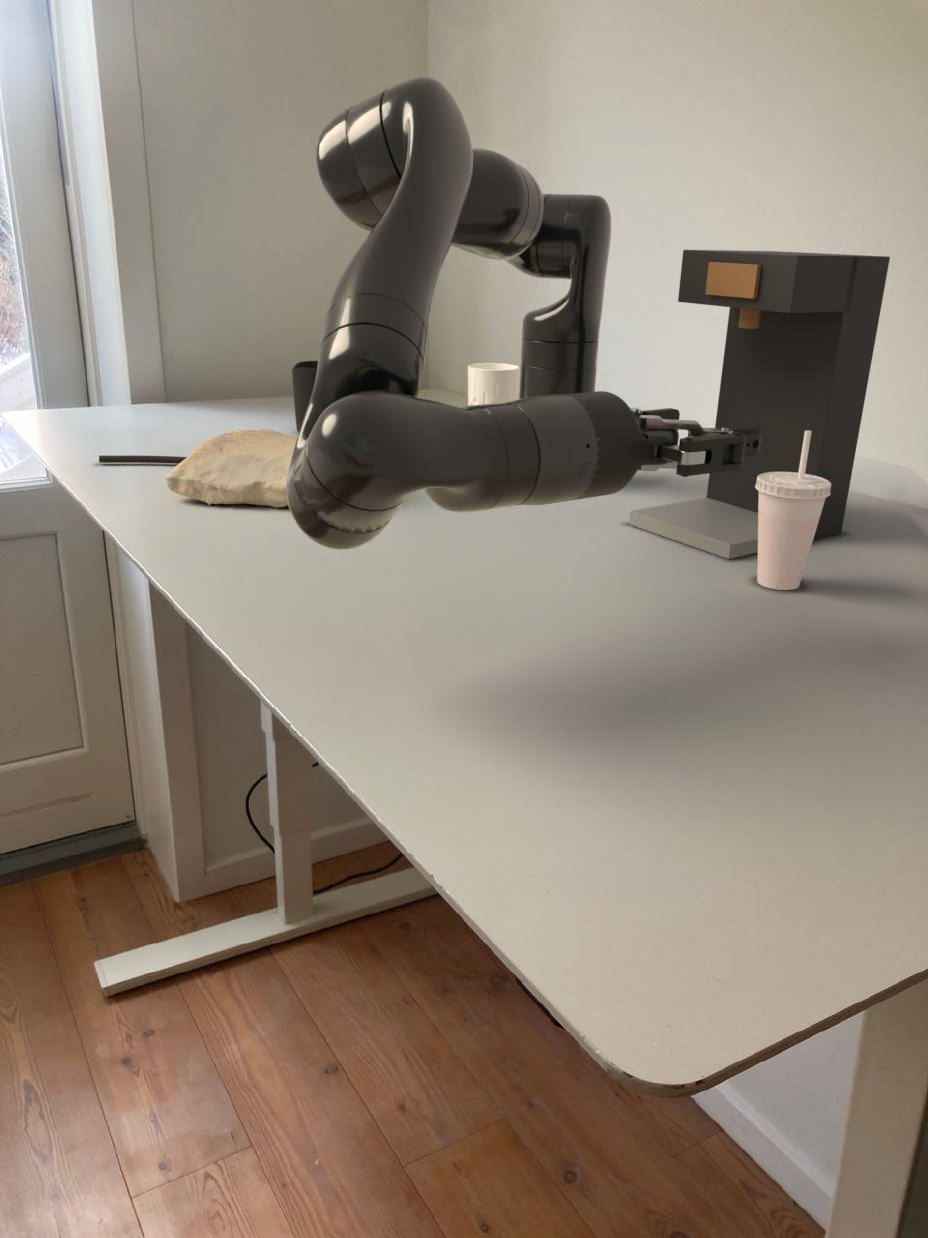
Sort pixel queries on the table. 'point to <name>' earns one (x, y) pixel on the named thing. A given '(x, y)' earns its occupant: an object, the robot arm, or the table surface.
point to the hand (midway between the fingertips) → (714, 430)
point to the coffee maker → (780, 381)
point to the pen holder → (303, 388)
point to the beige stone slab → (237, 469)
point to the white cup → (492, 383)
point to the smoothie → (788, 522)
